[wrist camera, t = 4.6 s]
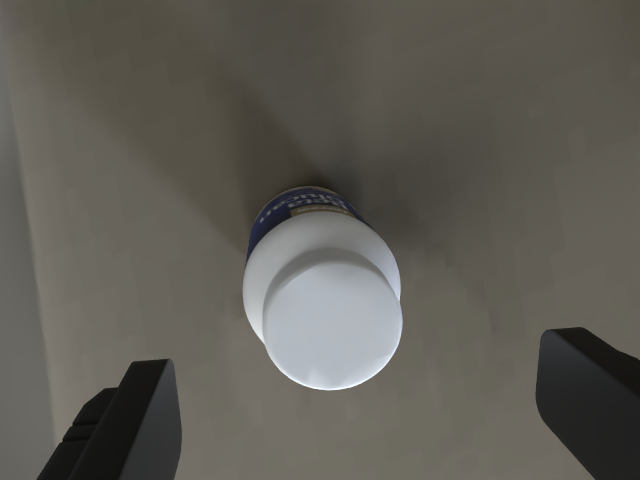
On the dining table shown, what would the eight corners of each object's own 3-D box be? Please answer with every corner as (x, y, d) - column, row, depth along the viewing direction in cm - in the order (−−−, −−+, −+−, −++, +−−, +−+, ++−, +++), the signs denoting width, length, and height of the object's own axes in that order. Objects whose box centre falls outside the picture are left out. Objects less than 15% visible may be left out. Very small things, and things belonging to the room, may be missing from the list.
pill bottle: (336, 164, 22) (389, 201, 13) (379, 265, 23) (454, 366, 14) (229, 213, 22) (201, 286, 13) (278, 311, 24) (287, 442, 14)
